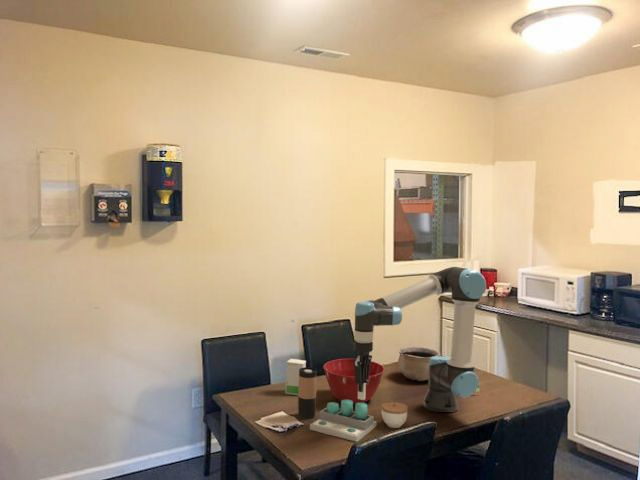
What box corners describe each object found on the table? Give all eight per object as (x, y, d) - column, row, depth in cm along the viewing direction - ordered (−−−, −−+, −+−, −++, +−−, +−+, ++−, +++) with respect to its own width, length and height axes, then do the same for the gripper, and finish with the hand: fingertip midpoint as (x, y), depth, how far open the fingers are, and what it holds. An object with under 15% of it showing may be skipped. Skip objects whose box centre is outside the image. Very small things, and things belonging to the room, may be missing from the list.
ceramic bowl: (392, 373, 292) (393, 346, 292) (429, 372, 296) (430, 345, 296) (405, 386, 271) (406, 357, 270) (446, 384, 275) (447, 356, 274)
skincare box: (284, 394, 254) (285, 361, 253) (288, 389, 260) (289, 358, 260) (301, 395, 252) (302, 363, 251) (305, 391, 258) (306, 359, 258)
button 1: (368, 416, 215) (369, 404, 215) (363, 420, 211) (364, 407, 211) (358, 413, 217) (358, 401, 217) (353, 417, 213) (353, 405, 213)
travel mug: (305, 411, 232) (307, 366, 232) (319, 415, 228) (320, 369, 227) (294, 416, 227) (295, 369, 226) (307, 420, 222) (308, 373, 221)
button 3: (340, 415, 222) (340, 403, 221) (334, 419, 217) (335, 407, 217) (330, 413, 224) (330, 401, 224) (324, 416, 220) (325, 404, 220)
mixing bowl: (380, 413, 233) (381, 378, 232) (316, 406, 239) (317, 372, 238) (385, 392, 261) (386, 361, 260) (328, 387, 266) (329, 356, 266)
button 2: (354, 413, 218) (354, 401, 218) (349, 416, 214) (349, 404, 214) (344, 410, 221) (344, 398, 220) (338, 414, 216) (339, 402, 216)
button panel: (376, 426, 218) (376, 414, 218) (356, 441, 202) (357, 429, 202) (331, 415, 228) (331, 403, 228) (309, 429, 213) (310, 417, 213)
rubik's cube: (479, 395, 260) (479, 384, 260) (469, 396, 258) (470, 385, 258) (472, 391, 265) (472, 380, 265) (462, 392, 263) (463, 381, 263)
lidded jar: (404, 420, 226) (405, 398, 225) (409, 430, 215) (410, 407, 214) (379, 419, 225) (379, 397, 225) (383, 430, 214) (383, 407, 214)
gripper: (362, 336, 220) (360, 392, 221) (347, 342, 209) (345, 401, 210) (378, 339, 216) (376, 396, 218) (365, 345, 205) (362, 405, 206)
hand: (361, 398), depth 214 cm, fingers closed
